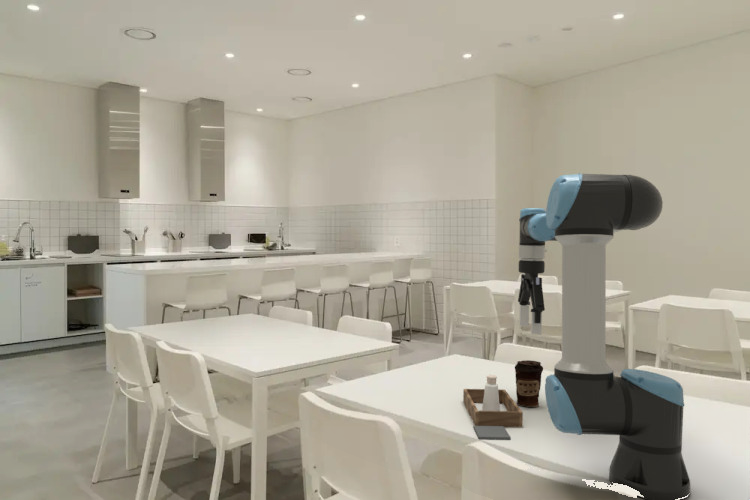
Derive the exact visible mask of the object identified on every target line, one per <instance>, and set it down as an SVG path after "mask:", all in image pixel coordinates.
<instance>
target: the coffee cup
mask: <svg viewBox="0 0 750 500" xmlns="http://www.w3.org/2000/svg"><path fill="white" fill-rule="evenodd" d="M516 362H517V363H516V364H515V366H514V371H515V386H516V387H515V389H516V391H515V392H516V393H515V394H516V404H517V406H521V407H526V408H534V407H535V408H537V407H539V403H540V402H539V397H540V391H541V386H542V373H543V371H544V367H543V366H542V365H541V362H540V361H536V360H528V359H527V360H520V361H516Z"/></svg>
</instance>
